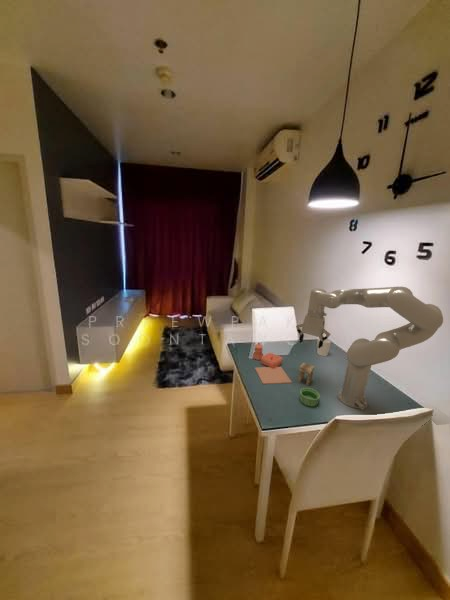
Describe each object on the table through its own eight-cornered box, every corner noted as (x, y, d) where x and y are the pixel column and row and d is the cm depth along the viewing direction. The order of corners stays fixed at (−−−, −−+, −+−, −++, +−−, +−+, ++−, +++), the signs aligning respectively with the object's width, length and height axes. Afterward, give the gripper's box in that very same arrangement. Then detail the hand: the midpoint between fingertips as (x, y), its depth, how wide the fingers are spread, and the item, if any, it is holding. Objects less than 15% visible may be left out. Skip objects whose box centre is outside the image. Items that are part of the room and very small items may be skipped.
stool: (312, 381, 135) (314, 366, 133) (308, 386, 130) (311, 370, 128) (301, 377, 139) (303, 362, 136) (297, 381, 134) (299, 366, 132)
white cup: (322, 350, 174) (324, 337, 171) (331, 355, 166) (333, 342, 164) (313, 352, 171) (315, 338, 168) (321, 357, 164) (324, 343, 161)
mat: (291, 383, 132) (291, 382, 132) (263, 384, 130) (263, 383, 129) (280, 367, 147) (280, 366, 147) (254, 368, 145) (254, 367, 145)
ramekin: (305, 408, 113) (306, 400, 112) (295, 396, 121) (296, 388, 120) (322, 406, 115) (323, 398, 114) (311, 394, 124) (312, 386, 122)
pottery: (281, 363, 151) (283, 348, 149) (273, 368, 144) (274, 353, 142) (258, 354, 163) (259, 340, 161) (249, 358, 157) (250, 343, 154)
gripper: (335, 315, 123) (329, 347, 127) (301, 308, 133) (296, 337, 137) (331, 319, 117) (325, 352, 121) (296, 311, 127) (291, 341, 131)
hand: (310, 344), depth 129 cm, fingers open, 9 cm apart
